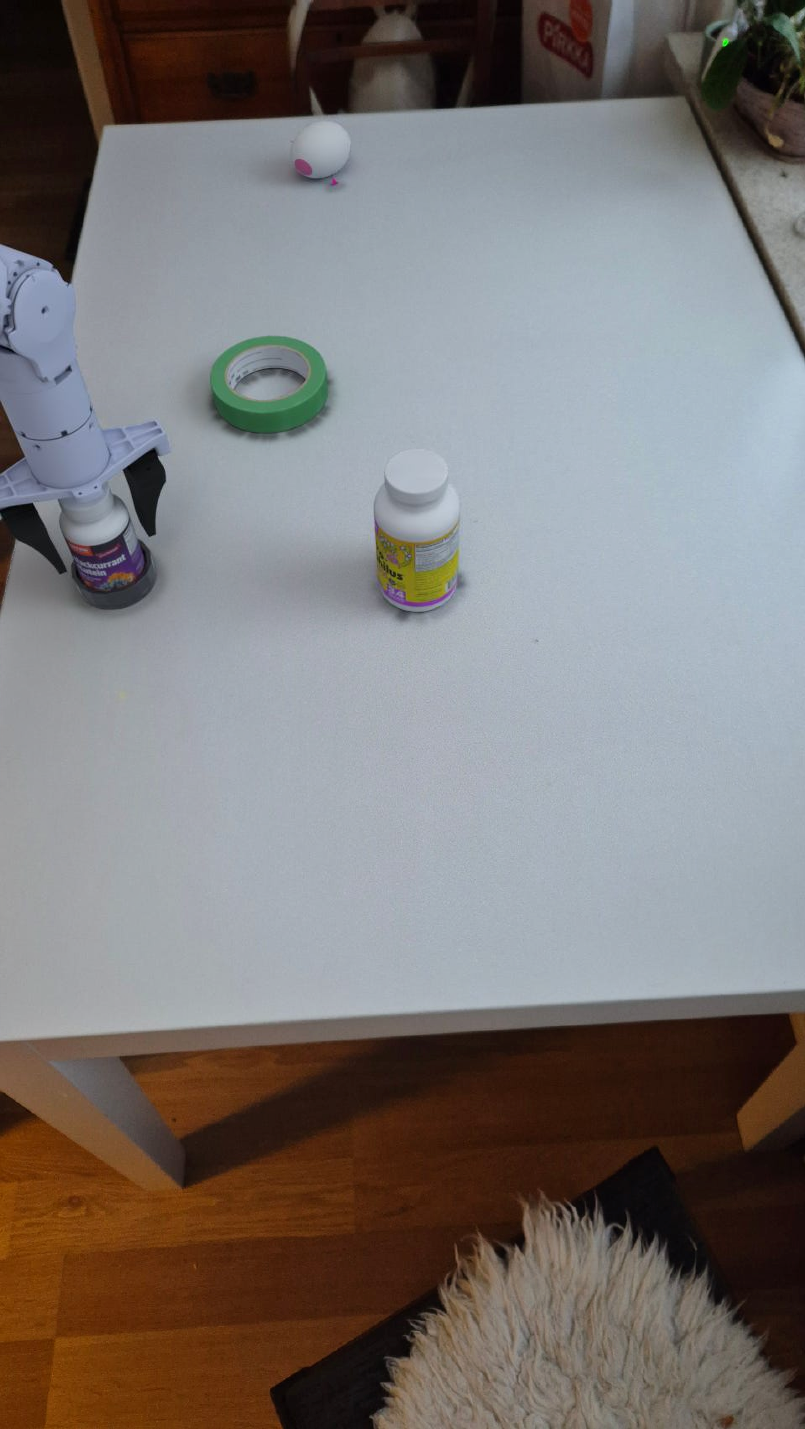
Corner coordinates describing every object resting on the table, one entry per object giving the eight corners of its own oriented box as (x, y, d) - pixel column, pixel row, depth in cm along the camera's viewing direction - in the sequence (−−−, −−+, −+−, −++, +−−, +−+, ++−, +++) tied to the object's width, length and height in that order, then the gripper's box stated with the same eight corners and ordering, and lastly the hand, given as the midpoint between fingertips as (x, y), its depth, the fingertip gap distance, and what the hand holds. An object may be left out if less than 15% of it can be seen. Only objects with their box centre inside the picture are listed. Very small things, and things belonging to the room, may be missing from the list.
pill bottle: (80, 601, 83) (42, 518, 75) (87, 553, 86) (51, 467, 78) (145, 597, 83) (114, 514, 75) (150, 549, 86) (121, 463, 78)
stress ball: (339, 184, 124) (319, 126, 121) (371, 169, 117) (350, 106, 115) (288, 204, 121) (266, 145, 119) (318, 189, 115) (295, 126, 112)
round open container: (80, 616, 83) (73, 601, 82) (76, 558, 87) (69, 542, 85) (160, 600, 84) (154, 585, 82) (152, 544, 87) (147, 527, 86)
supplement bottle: (367, 568, 85) (358, 451, 75) (440, 546, 87) (441, 428, 76) (394, 625, 82) (389, 512, 71) (470, 602, 83) (475, 487, 72)
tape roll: (302, 443, 94) (299, 421, 92) (195, 420, 96) (190, 397, 94) (344, 370, 100) (342, 347, 97) (242, 349, 102) (238, 326, 100)
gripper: (-33, 486, 67) (35, 615, 78) (169, 408, 71) (205, 542, 82) (-63, 425, 70) (6, 557, 82) (131, 354, 74) (171, 490, 85)
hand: (104, 546), depth 82 cm, fingers open, 7 cm apart
